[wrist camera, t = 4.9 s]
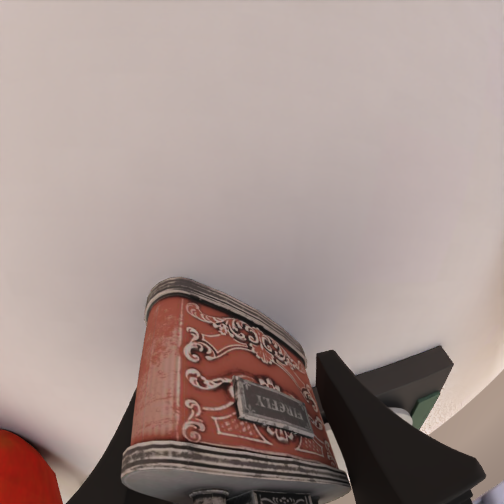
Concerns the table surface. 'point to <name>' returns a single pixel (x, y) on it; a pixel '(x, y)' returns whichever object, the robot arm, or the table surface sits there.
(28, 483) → the apple
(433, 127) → the table surface
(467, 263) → the table surface
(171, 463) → the lighter
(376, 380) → the scale
